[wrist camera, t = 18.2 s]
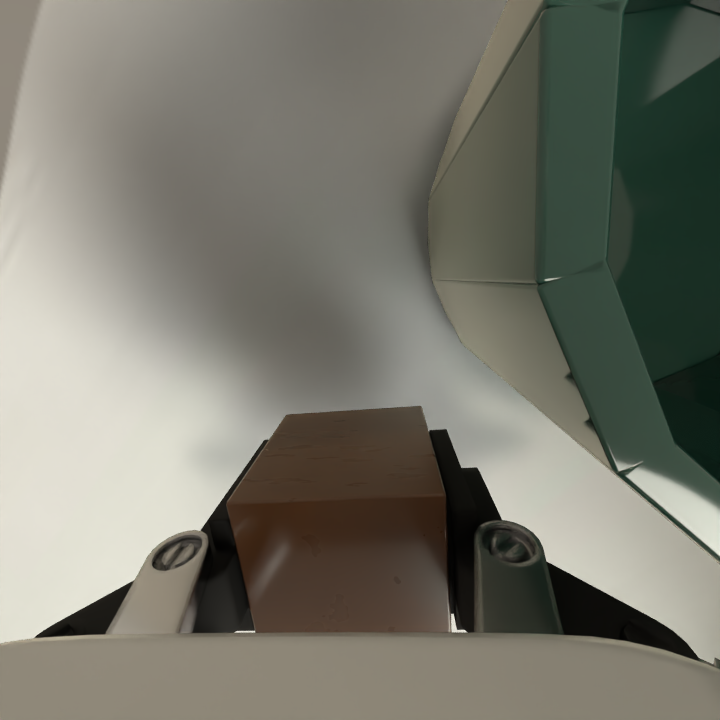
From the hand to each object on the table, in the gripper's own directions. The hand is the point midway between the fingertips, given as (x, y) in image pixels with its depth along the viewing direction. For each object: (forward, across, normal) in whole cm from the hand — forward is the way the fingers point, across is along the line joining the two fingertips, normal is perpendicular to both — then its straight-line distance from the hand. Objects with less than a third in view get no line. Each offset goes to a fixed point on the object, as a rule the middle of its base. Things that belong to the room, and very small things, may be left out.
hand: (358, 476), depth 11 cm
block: (0, 0, 0) cm, 0 cm away
